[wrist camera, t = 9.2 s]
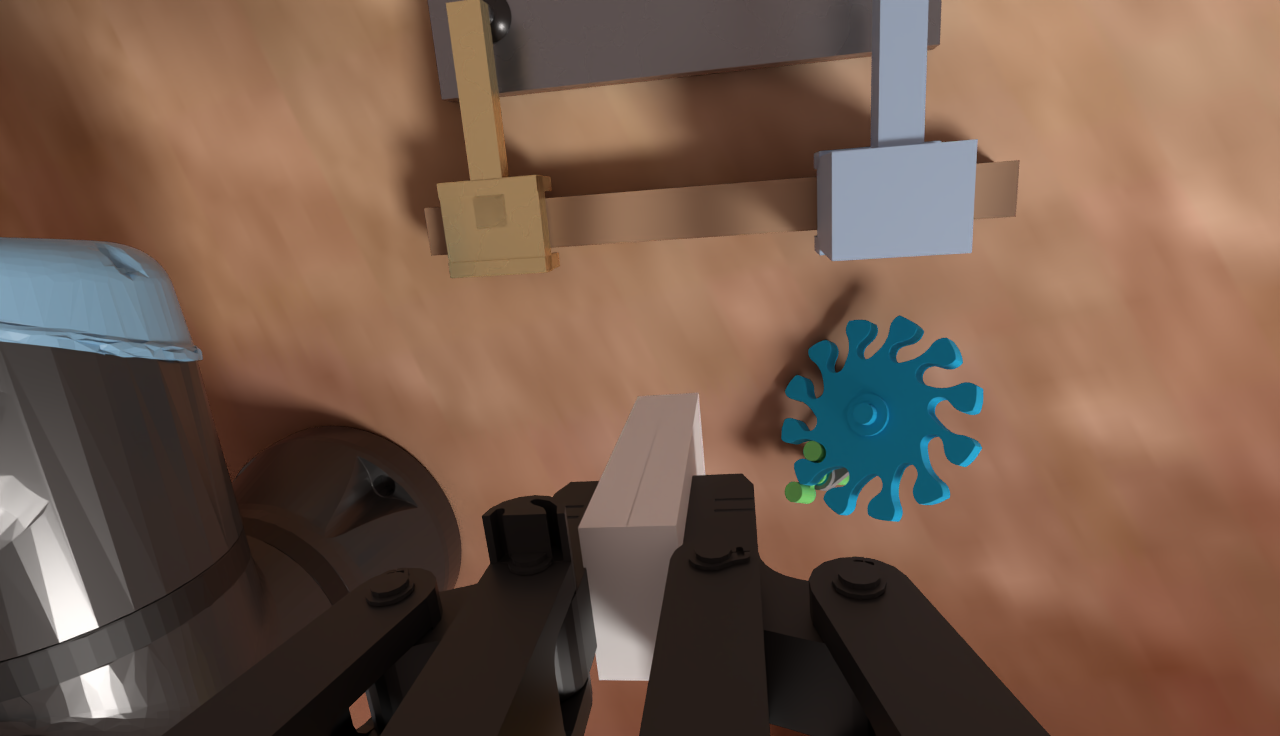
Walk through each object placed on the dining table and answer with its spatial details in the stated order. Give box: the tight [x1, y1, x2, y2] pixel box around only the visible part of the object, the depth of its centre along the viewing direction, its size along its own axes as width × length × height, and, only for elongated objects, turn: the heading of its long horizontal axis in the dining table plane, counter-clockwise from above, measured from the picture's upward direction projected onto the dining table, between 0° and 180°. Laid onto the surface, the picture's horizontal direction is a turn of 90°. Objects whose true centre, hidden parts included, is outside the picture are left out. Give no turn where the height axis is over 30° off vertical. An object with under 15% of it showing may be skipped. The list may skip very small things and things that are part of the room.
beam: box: [424, 160, 1019, 256], centre depth 33 cm, size 28×2×3 cm, turn 95°
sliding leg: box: [814, 0, 978, 261], centre depth 27 cm, size 5×13×7 cm, turn 5°
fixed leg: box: [437, 0, 560, 278], centre depth 32 cm, size 5×13×3 cm, turn 5°
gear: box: [781, 316, 983, 522], centre depth 33 cm, size 11×6×10 cm
